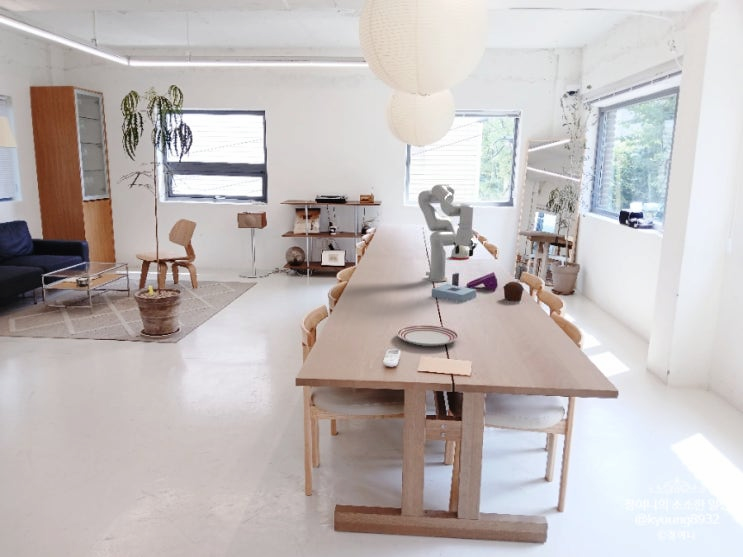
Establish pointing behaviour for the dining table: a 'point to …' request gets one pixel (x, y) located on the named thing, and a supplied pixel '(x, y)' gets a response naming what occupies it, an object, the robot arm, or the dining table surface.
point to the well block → (454, 293)
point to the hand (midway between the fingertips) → (463, 254)
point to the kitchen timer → (460, 253)
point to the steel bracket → (455, 279)
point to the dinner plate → (427, 335)
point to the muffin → (513, 291)
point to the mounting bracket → (485, 282)
